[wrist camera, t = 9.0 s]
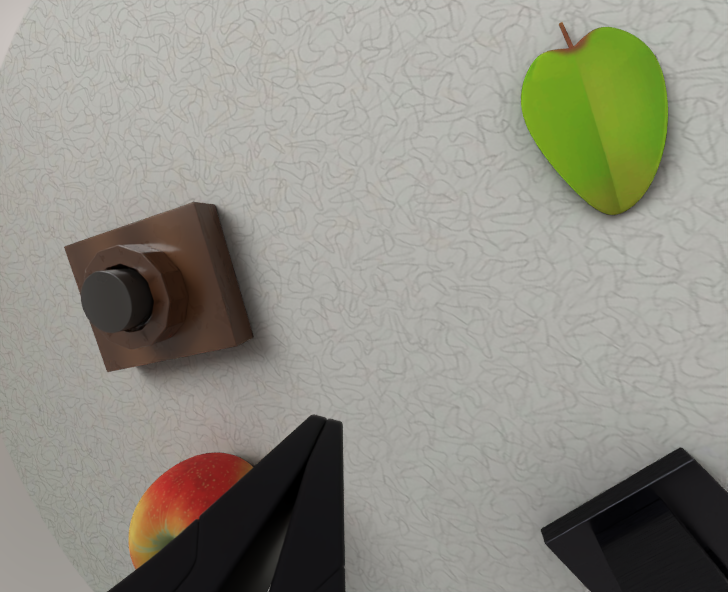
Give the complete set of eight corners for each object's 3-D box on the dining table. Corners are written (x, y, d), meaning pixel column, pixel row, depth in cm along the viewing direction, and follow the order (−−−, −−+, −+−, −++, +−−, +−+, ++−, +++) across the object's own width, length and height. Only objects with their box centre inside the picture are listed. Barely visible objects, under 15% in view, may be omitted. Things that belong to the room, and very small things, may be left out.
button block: (131, 362, 30) (83, 381, 26) (92, 245, 29) (36, 247, 25) (254, 337, 26) (220, 355, 23) (215, 204, 25) (172, 199, 21)
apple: (192, 500, 31) (75, 621, 21) (200, 417, 29) (76, 509, 19) (277, 533, 29) (191, 681, 19) (291, 448, 27) (204, 565, 18)
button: (117, 331, 25) (92, 338, 23) (98, 275, 24) (72, 278, 23) (161, 320, 24) (139, 326, 22) (143, 262, 23) (119, 264, 22)
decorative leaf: (696, 45, 18) (711, 34, 17) (631, 220, 19) (642, 219, 18) (540, 20, 19) (546, 8, 18) (490, 189, 20) (493, 186, 19)
